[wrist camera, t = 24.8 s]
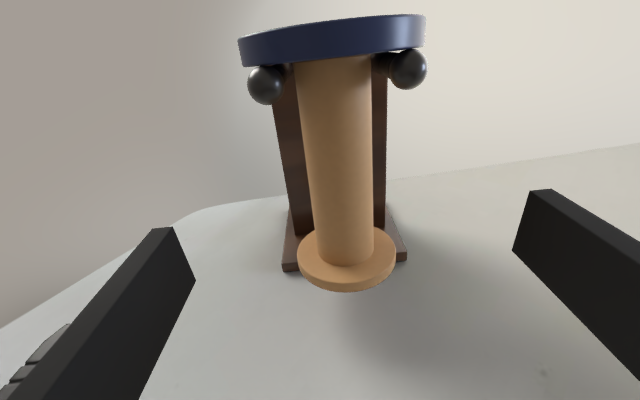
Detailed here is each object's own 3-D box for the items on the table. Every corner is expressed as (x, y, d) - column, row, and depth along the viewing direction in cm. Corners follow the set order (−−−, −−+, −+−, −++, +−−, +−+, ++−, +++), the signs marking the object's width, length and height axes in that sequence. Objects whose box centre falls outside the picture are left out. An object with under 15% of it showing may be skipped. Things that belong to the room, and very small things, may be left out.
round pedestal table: (258, 280, 19) (194, 42, 13) (321, 215, 26) (300, 39, 19) (389, 327, 15) (395, 6, 8) (422, 235, 22) (440, 19, 15)
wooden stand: (434, 323, 19) (478, 36, 11) (275, 337, 19) (198, 68, 11) (380, 199, 34) (380, 40, 26) (290, 208, 34) (263, 54, 26)
